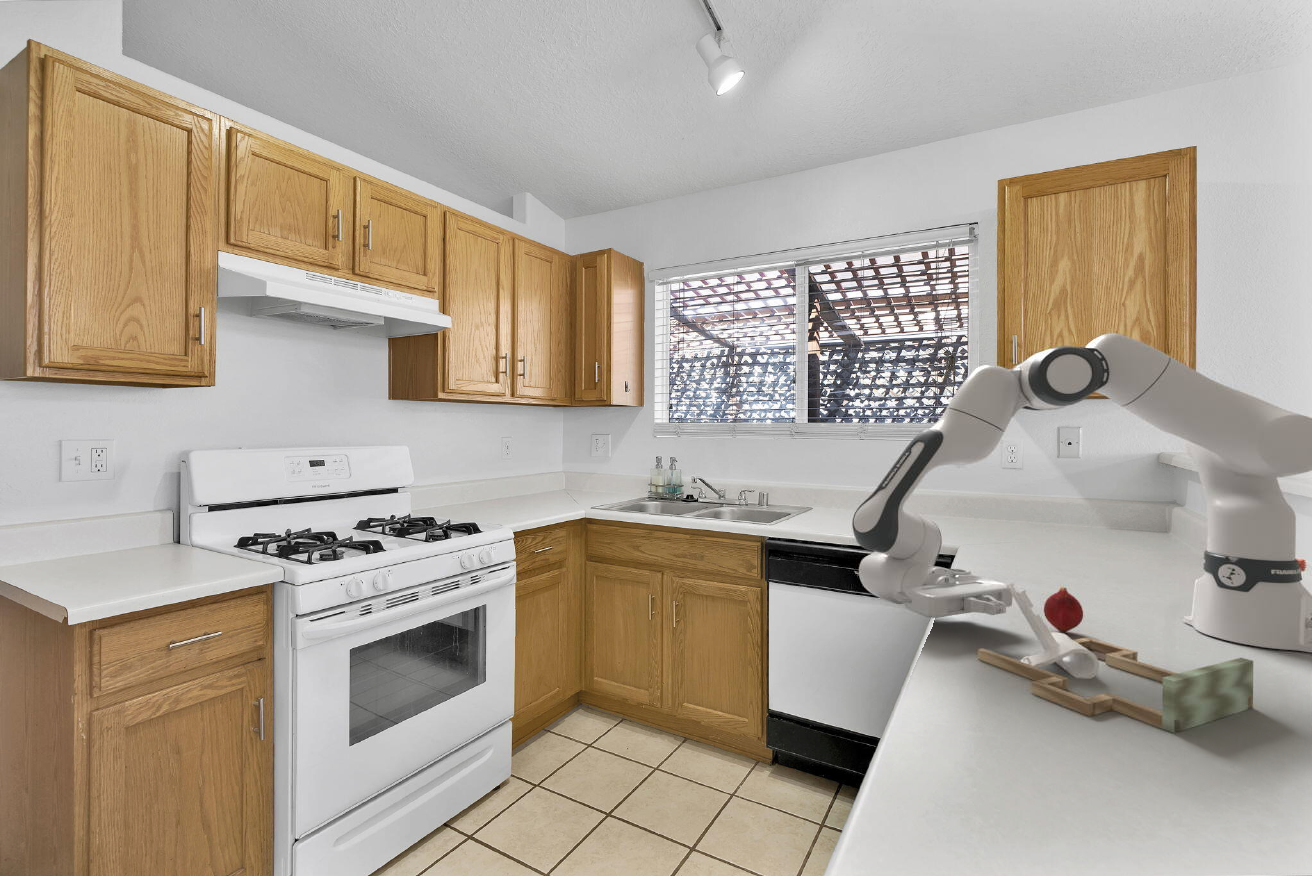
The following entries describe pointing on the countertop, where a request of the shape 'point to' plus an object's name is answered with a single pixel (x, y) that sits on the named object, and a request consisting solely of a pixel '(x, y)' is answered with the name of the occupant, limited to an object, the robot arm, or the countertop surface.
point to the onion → (1063, 610)
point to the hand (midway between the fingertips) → (1000, 609)
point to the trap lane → (1182, 694)
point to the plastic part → (1055, 644)
